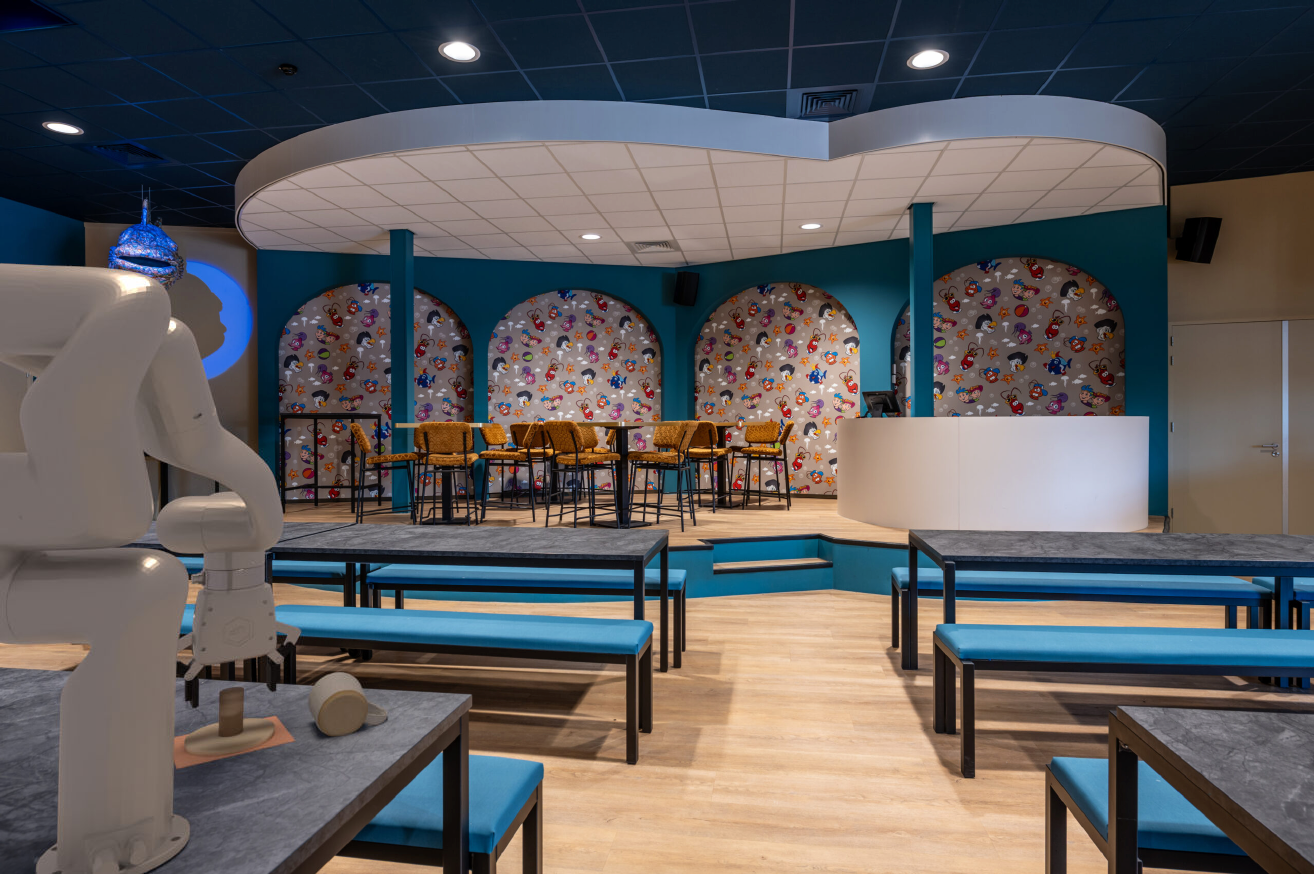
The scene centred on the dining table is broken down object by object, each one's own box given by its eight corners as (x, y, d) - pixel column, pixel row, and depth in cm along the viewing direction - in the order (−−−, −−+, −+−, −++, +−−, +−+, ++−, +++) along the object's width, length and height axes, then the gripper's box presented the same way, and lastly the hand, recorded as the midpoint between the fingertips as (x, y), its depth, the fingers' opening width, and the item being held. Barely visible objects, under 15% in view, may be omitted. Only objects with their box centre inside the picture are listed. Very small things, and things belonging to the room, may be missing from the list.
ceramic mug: (316, 745, 100) (318, 690, 100) (306, 726, 107) (308, 675, 107) (393, 730, 106) (395, 679, 106) (379, 713, 113) (381, 665, 113)
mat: (295, 744, 100) (295, 740, 100) (176, 773, 91) (176, 768, 91) (275, 719, 109) (275, 715, 109) (166, 743, 100) (166, 738, 100)
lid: (282, 742, 100) (283, 692, 100) (190, 764, 92) (191, 710, 93) (265, 718, 108) (266, 673, 108) (179, 737, 101) (180, 688, 101)
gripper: (164, 591, 92) (163, 721, 93) (307, 575, 104) (306, 690, 104) (158, 581, 98) (157, 703, 98) (294, 566, 109) (293, 676, 110)
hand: (234, 696), depth 101 cm, fingers open, 9 cm apart
